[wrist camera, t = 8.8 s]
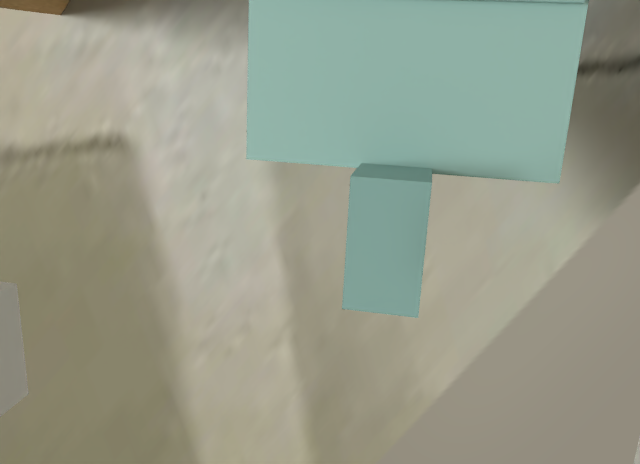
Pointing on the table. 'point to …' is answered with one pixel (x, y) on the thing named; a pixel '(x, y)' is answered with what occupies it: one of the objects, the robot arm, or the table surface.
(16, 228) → the table surface
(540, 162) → the lid
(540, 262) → the table surface
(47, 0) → the sandwich container
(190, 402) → the table surface
